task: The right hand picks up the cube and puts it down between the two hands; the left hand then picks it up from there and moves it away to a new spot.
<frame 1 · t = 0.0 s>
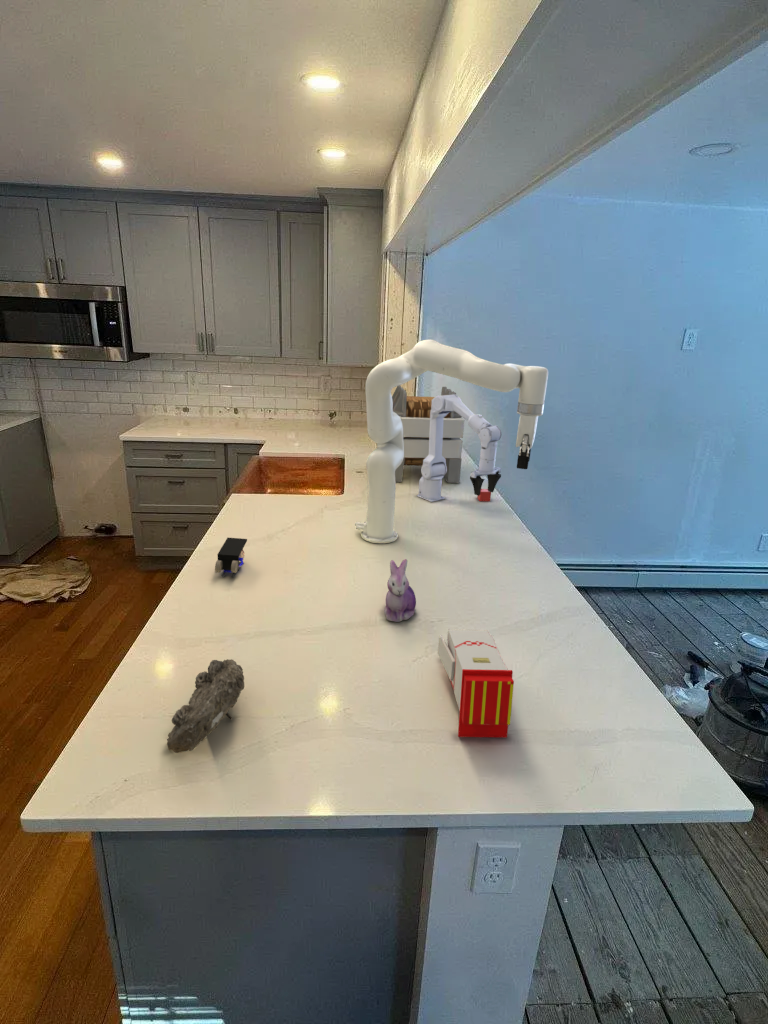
left hand: (523, 464, 174), 31 cm above the counter, tool pointing down, fingers open, 9 cm apart
right hand: (483, 493, 215), 10 cm above the counter, tool pointing down, fingers open, 7 cm apart
figurine: (399, 614, 147), on the counter
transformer: (419, 473, 275), on the counter
figurine character: (232, 569, 168), on the counter
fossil: (212, 717, 108), on the counter
cube: (483, 499, 240), on the counter
toy: (469, 691, 119), on the counter
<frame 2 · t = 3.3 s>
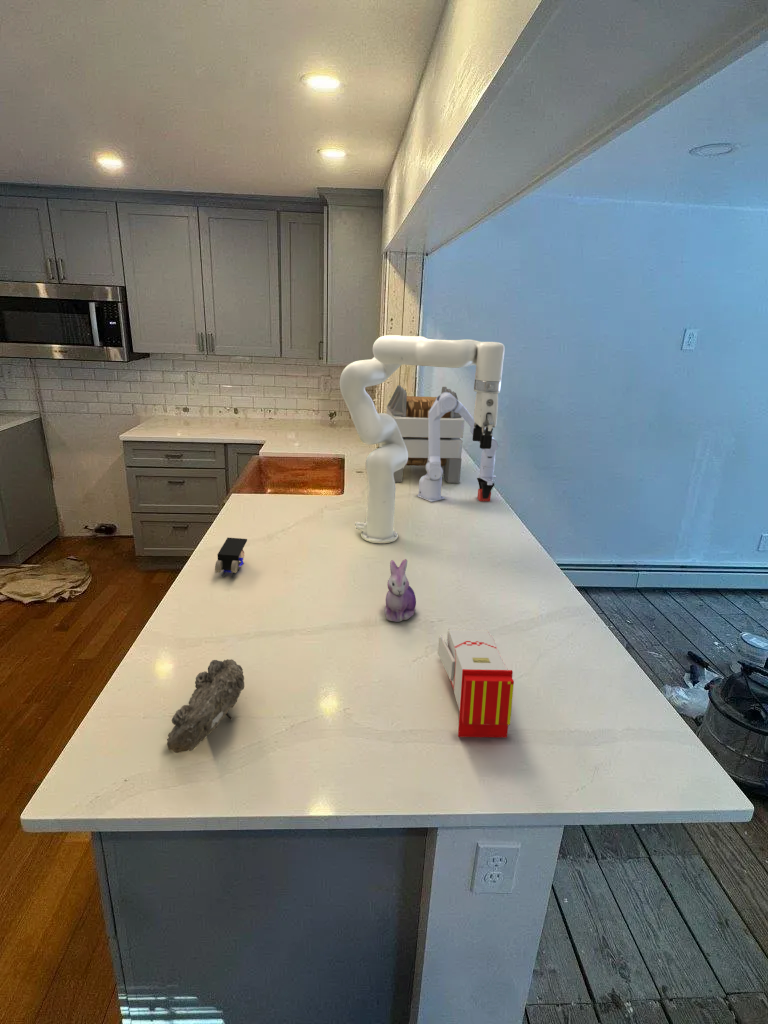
left hand: (481, 444, 169), 38 cm above the counter, tool pointing down, fingers open, 9 cm apart
right hand: (483, 496, 240), 1 cm above the counter, tool pointing down, fingers closed on cube, 4 cm apart
cube: (483, 499, 240), on the counter, touching right hand
everything else where it was.
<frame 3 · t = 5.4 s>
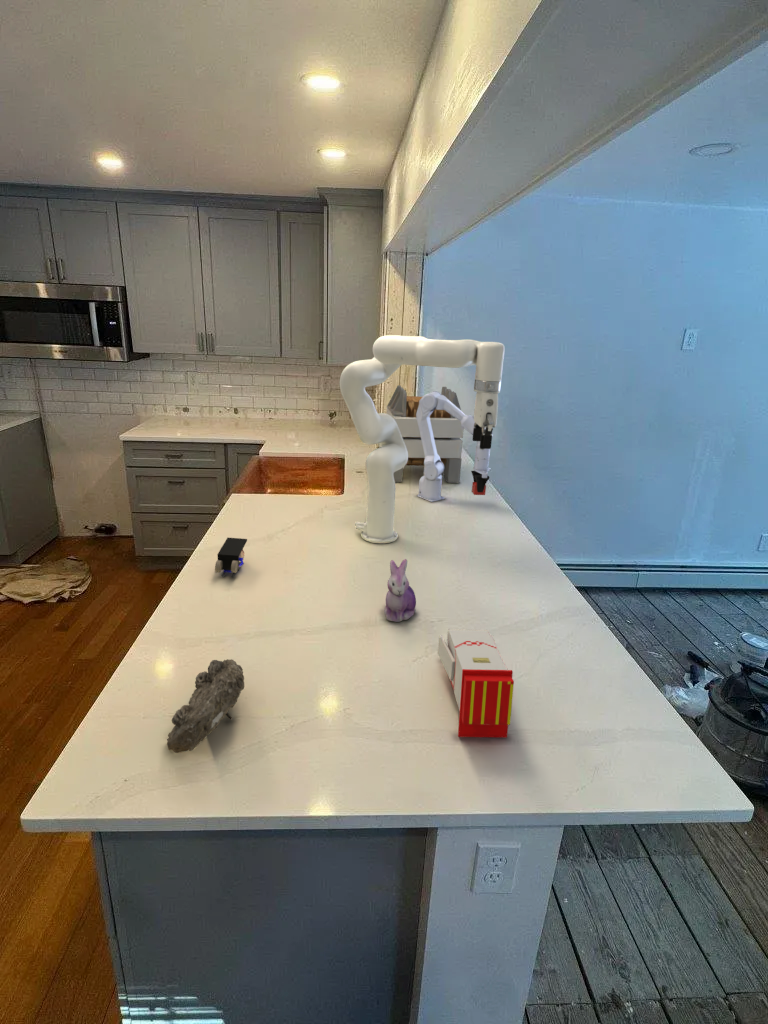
left hand: (481, 444, 169), 38 cm above the counter, tool pointing down, fingers open, 9 cm apart
right hand: (478, 490, 231), 7 cm above the counter, tool pointing down, fingers closed on cube, 4 cm apart
cube: (478, 493, 231), point 5 cm above the counter, touching right hand
everything else where it was.
when the right hand's fingers open (2 cm above the counter, at t = 7.6 s): cube stays where it is, on the counter.
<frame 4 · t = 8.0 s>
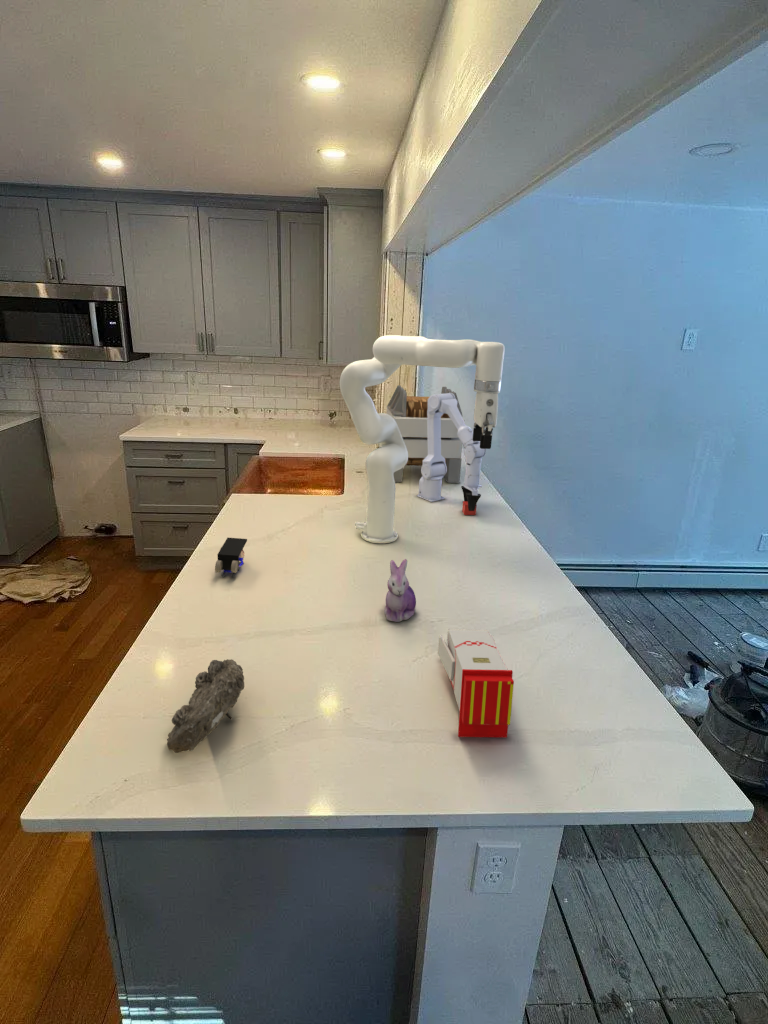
left hand: (481, 444, 169), 38 cm above the counter, tool pointing down, fingers open, 9 cm apart
right hand: (469, 507, 223), 2 cm above the counter, tool pointing down, fingers open, 7 cm apart
cube: (468, 513, 224), on the counter
everything else where it was.
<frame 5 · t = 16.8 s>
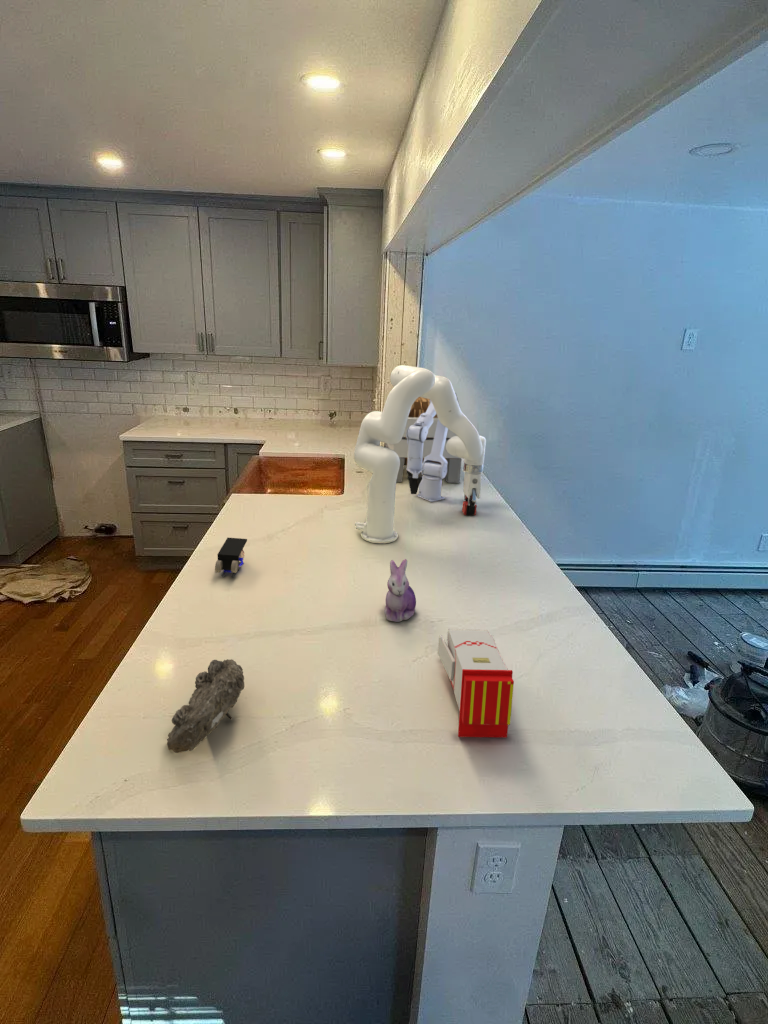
left hand: (468, 512, 224), 0 cm above the counter, tool pointing down, fingers closed on cube, 4 cm apart
right hand: (413, 490, 221), 8 cm above the counter, tool pointing down, fingers open, 7 cm apart
cube: (468, 513, 224), on the counter, touching left hand
everything else where it was.
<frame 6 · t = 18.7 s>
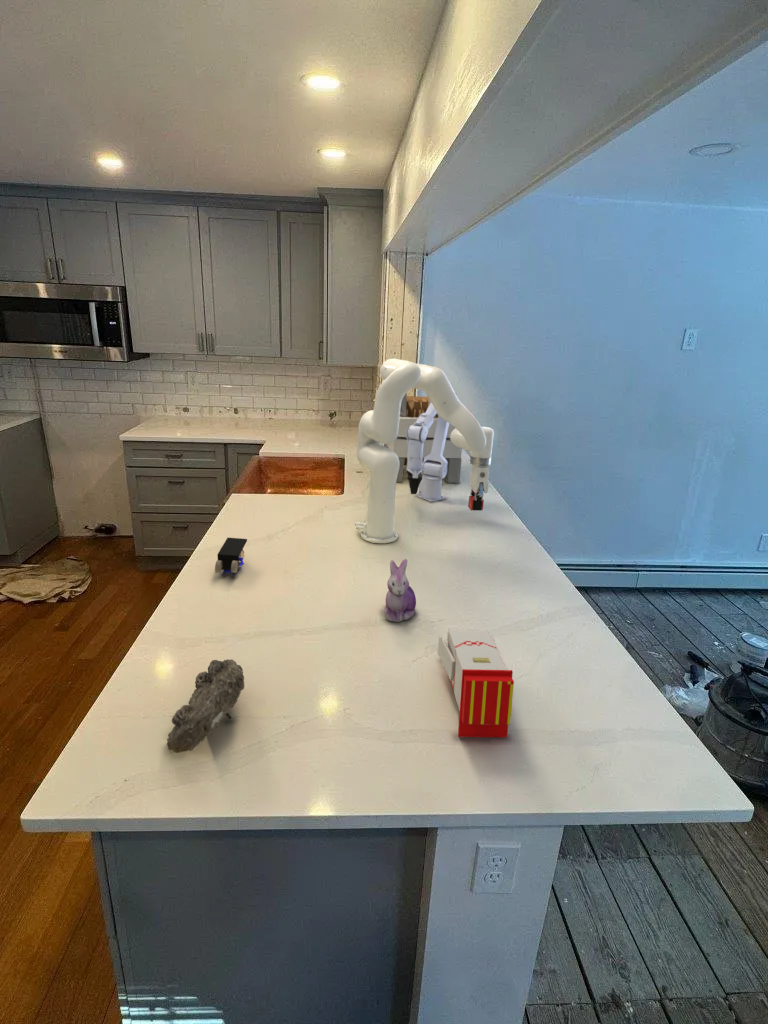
left hand: (475, 507, 214), 5 cm above the counter, tool pointing down, fingers closed on cube, 4 cm apart
right hand: (413, 490, 221), 8 cm above the counter, tool pointing down, fingers open, 7 cm apart
cube: (475, 508, 214), point 5 cm above the counter, touching left hand
everything else where it was.
when the left hand's fingers open (1 cm above the counter, at t = 20.4 s): cube stays where it is, on the counter.
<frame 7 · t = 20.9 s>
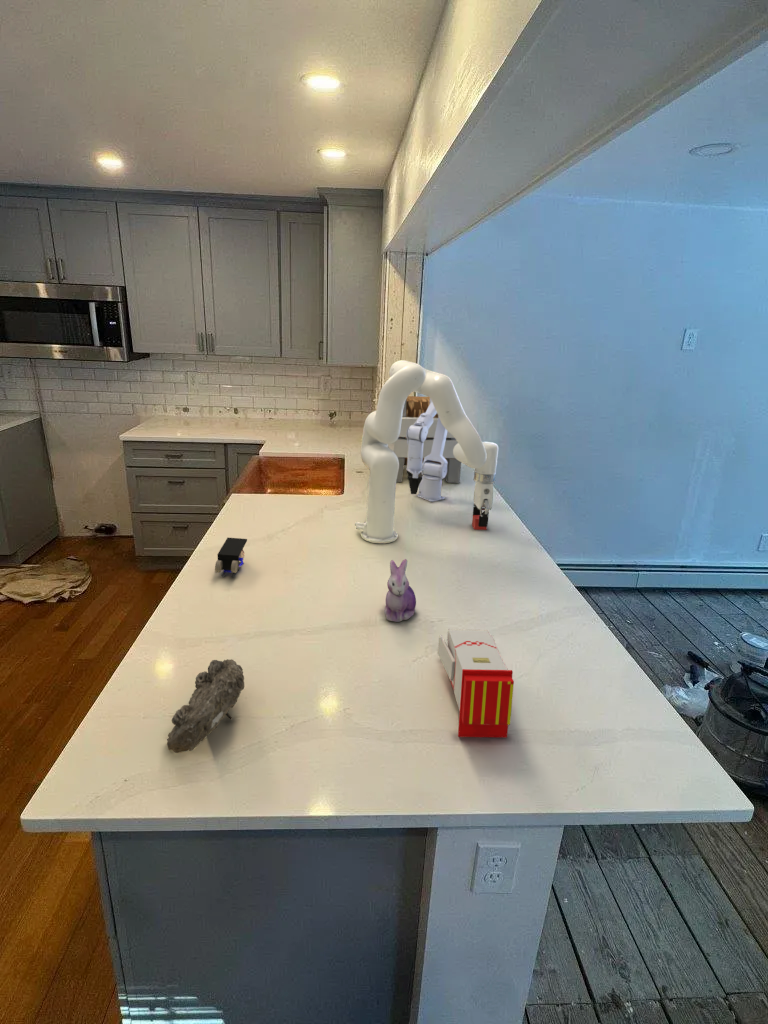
left hand: (479, 521, 208), 2 cm above the counter, tool pointing down, fingers open, 9 cm apart
right hand: (413, 490, 221), 8 cm above the counter, tool pointing down, fingers open, 7 cm apart
cube: (479, 527, 209), on the counter
everything else where it was.
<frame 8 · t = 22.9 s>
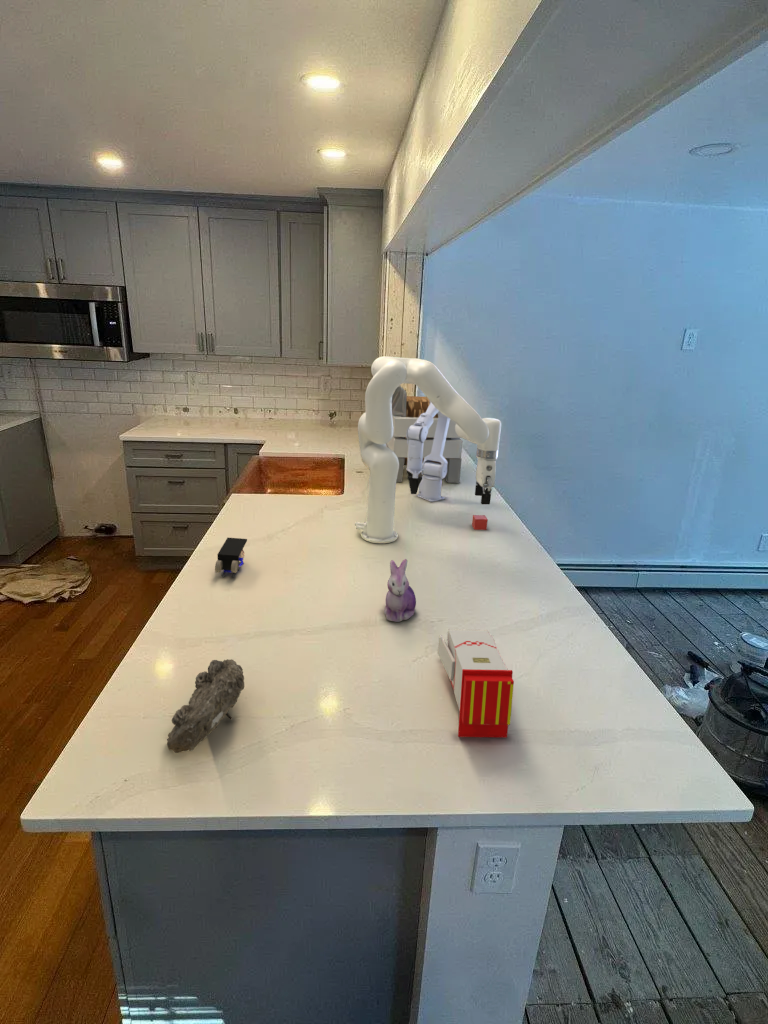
left hand: (482, 499, 205), 11 cm above the counter, tool pointing down, fingers open, 9 cm apart
right hand: (413, 490, 221), 8 cm above the counter, tool pointing down, fingers open, 7 cm apart
nothing on the counter moved.
at the end: cube inside the target area (0.1 cm from its centre), on the counter; cube tilted 0°; the two hands never held the cube at the same time; the left hand is holding nothing; the right hand is holding nothing; cube at rest at the end (0.0 cm/s) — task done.
